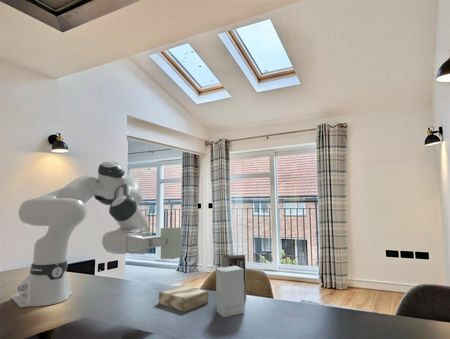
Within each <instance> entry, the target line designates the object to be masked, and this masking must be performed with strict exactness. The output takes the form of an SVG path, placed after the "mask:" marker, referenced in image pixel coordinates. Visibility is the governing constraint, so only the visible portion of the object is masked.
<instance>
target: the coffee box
mask: <svg viewBox="0 0 450 339" xmlns="http://www.w3.org/2000/svg"><path fill="white" fill-rule="evenodd" d="M221 261H222V262H221V265H222V266H221V268H224V267H230V266H238V267H240V268H242V269H244V302H245V301H247V280H246V279H247V276H246V275H247V274H246V271H247V269H246V255H245V254H223V256H222V258H221Z"/></svg>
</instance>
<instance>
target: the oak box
mask: <svg viewBox="0 0 450 339" xmlns="http://www.w3.org/2000/svg"><path fill="white" fill-rule="evenodd" d="M208 303H209V291H207V290H205V289H199V288H195V287H191V286H187V285H183V284H182V285H178V286H175V287H172V288H168V289H165V290H163V291H160V292H159V291H158V304H160V305H164V306H165V307H169V308H173V309H175V310H179V311H181V312H184V313H185V312H188V311H191V310H193V309H196V308H198V307H201V306H204V305H206V304H208Z"/></svg>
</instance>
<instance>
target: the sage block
mask: <svg viewBox="0 0 450 339" xmlns="http://www.w3.org/2000/svg"><path fill="white" fill-rule="evenodd" d="M159 230H160V235H161V239H167V244H166V245H161V246H160V259H161V260H174V259H179V258H182V255H183V254H182V227H178V226H177V227H160V229H159Z"/></svg>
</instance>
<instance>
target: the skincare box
mask: <svg viewBox="0 0 450 339" xmlns="http://www.w3.org/2000/svg"><path fill="white" fill-rule="evenodd" d="M215 285H216V287H215V289H216V290H215V297H216V301H215V303H216V312H217V314H219V315H220V316H221V317H223V318H227V317H232V316H236V315H237V316H238V315H242V314H245V301H244V269H242V268H240V267H238V266H230V267H224V268H222V267H216V268H215Z"/></svg>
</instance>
